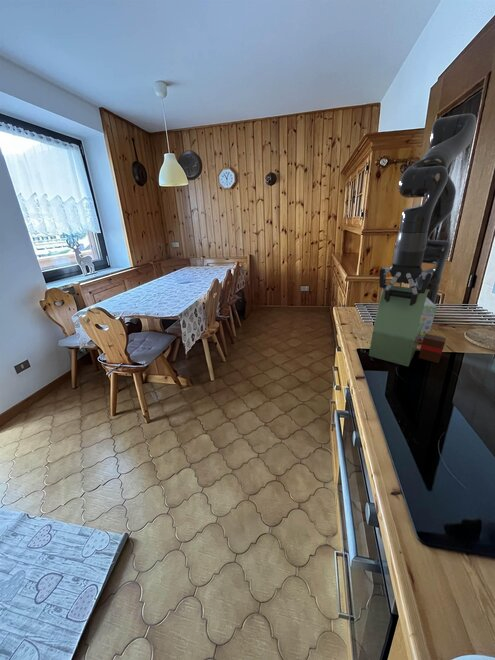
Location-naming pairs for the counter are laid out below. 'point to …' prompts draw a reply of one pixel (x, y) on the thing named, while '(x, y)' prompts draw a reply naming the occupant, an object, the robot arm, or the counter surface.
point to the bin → (394, 347)
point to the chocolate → (432, 348)
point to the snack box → (427, 318)
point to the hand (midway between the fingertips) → (399, 302)
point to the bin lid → (399, 313)
